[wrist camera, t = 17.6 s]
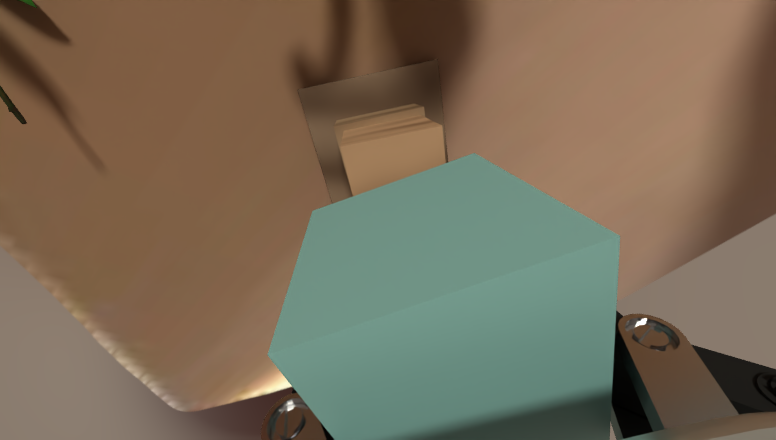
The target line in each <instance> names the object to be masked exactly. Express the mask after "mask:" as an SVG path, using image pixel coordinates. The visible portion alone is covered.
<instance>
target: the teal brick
mask: <svg viewBox="0 0 776 440" xmlns="http://www.w3.org/2000/svg"><path fill="white" fill-rule="evenodd" d="M619 247H620V236H619V235H617V234H616V233H614V232H612V231H610V230H609V229H607V228H605V227H603V226H601V225H600V224H598V223H596V222H594V221H593V220H591V219H589V218H587V217H586V216H584V215H582V214H580V213H579V212H577V211H575V210H573V209H572V208H570V207H568V206H566V205H565V204H563V203H561V202H559V201H558V200H556V199H554V198H552V197H551V196H549V195H547V194H545V193H544V192H542V191H540V190H538V189H537V188H535V187H533V186H531V185H529V184H528V183H526V182H524V181H522V180H521V179H519V178H517V177H515V176H514V175H512V174H510V173H508V172H507V171H505V170H503V169H501V168H500V167H498V166H496V165H494V164H493V163H491V162H489V161H487V160H486V159H484V158H482V157H480V156H479V155H477V154H475V153H473V154H470V155H468V156H465V157H462V158H459V159H456V160H454V161H451V162H448V163H445V164H442V165H440V166H437V167H434V168H431V169H428V170H426V171H423V172H420V173H417V174H414V175H412V176H409V177H406V178H403V179H400V180H398V181H395V182H392V183H389V184H386V185H384V186H381V187H378V188H375V189H372V190H370V191H367V192H364V193H361V194H358V195H356V196H353V197H350V198H347V199H345V200H342V201H339V202H336V203H333V204H331V205H328V206H325V207H322V208H319V209H317V210H314V211H313V212H312V215H311V218H310V221H309V224H308V228H307V231H306V234H305V237H304V240H303V244H302V247H301V250H300V253H299V256H298V259H297V263H296V266H295V269H294V272H293V275H292V279H291V282H290V285H289V288H288V291H287V295H286V298H285V301H284V304H283V307H282V311H281V314H280V317H279V320H278V323H277V327H276V330H275V333H274V336H273V339H272V343H271V346H270V349H269V352H268V356H269V358H270V359H271V360H272V361H273V363H274V364H275V365H276V366H277V368H278V369H279V370H280V371H281V373H282V374H283V375H284V376H285V378H286V379H287V380H288V382H289V383H290V384H291V385H292V387H293V388H294V389H295V390H296V392H297V393H298V394H299V395H300V397H301V398H302V399H303V400H304V402H305V403H306V404H307V405H308V407H309V408H310V409H311V411H312V412H313V413H314V414H315V416H316V417H317V418H318V419H319V421H320V422H321V423H322V424H323V426H324V427H325V428H326V429H327V431H328V432H329V433H330V435H331V436H332V437H333V438H334V440H609V439H610V438H609V437H610V420H611V400H612V381H613V362H614V343H615V324H616V304H617V286H618V266H619Z"/></svg>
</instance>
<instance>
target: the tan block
mask: <svg viewBox="0 0 776 440" xmlns="http://www.w3.org/2000/svg"><path fill="white" fill-rule="evenodd" d="M340 148H341V152H342V156H343V159H344V163H345V167H346V171H347V175H348V179H349V183H350V187H351V191H352V195H353V196H356V195H358V194H361V193H364V192H367V191H370V190H372V189H375V188H378V187H381V186H384V185H386V184H389V183H392V182H395V181H398V180H400V179H403V178H406V177H409V176H412V175H414V174H417V173H420V172H423V171H426V170H428V169H431V168H434V167H437V166H440V165H442V164H445V163H446V160H445V149H444V138H443V127H442V125H440V124H438V123H436V122H434V121H432V120H430V119H428V118H426V117H424V116H421V115H419V116H414V117H409V118H404V119H399V120H394V121H390V122H385V123H380V124H375V125H370V126H365V127H360V128H356V129H351V130H346V131H344V132H343V137H342V141H341V146H340Z"/></svg>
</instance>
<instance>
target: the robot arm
mask: <svg viewBox="0 0 776 440" xmlns="http://www.w3.org/2000/svg"><path fill="white" fill-rule="evenodd" d="M610 421H611V424H612V427H613V430H614V433H615V436H616V439H617V440H776V369H773V368H769V367H766V366H763V365H759V364H756V363H752V362H748V361H745V360H742V359H738V358H735V357H732V356H728V355H724V354H721V353H718V352H715V351H711V350H708V349H705V348H701V347H698V346H694V345H691V344H690V342H689V341H688V340H687V338H686V337H685V336H684V335H683V333H682V332H680V330H679V329H677V328H676V327H675V326H673V325H672V324H670V323H668V322H666V321H664V320H662V319H660V318H656V317H653V316H650V315H644V314H630V315H626V316H624V317H623V316H622V315H621V314H620V313H619V312H617V311H616V324H615V343H614V362H613V381H612V400H611V420H610ZM261 440H334V438H333V437H332V436H331V435H330V433H329V432H328V431H327V429H326V428H325V427H324V426H323V424H322V423H321V422H320V421H319V419H318V418H317V417H316V416H315V414H314V413H313V412H312V411H311V409H310V408H309V407H308V405H307V404H306V403H305V402H304V400H303V399H302V398H301V397H300V395H299V394H298V393H297V392H296V390H295V389H294V388H293V391H292V394H290V395H287V396H285V397H283V398H282V399H281V400H279V401H278V402H277V403H275V405H274V406H273V407H272V408H271V409H270V410H269V412H268V414H267V415H266V417H265V419H264V421H263V424H262V428H261Z"/></svg>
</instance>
